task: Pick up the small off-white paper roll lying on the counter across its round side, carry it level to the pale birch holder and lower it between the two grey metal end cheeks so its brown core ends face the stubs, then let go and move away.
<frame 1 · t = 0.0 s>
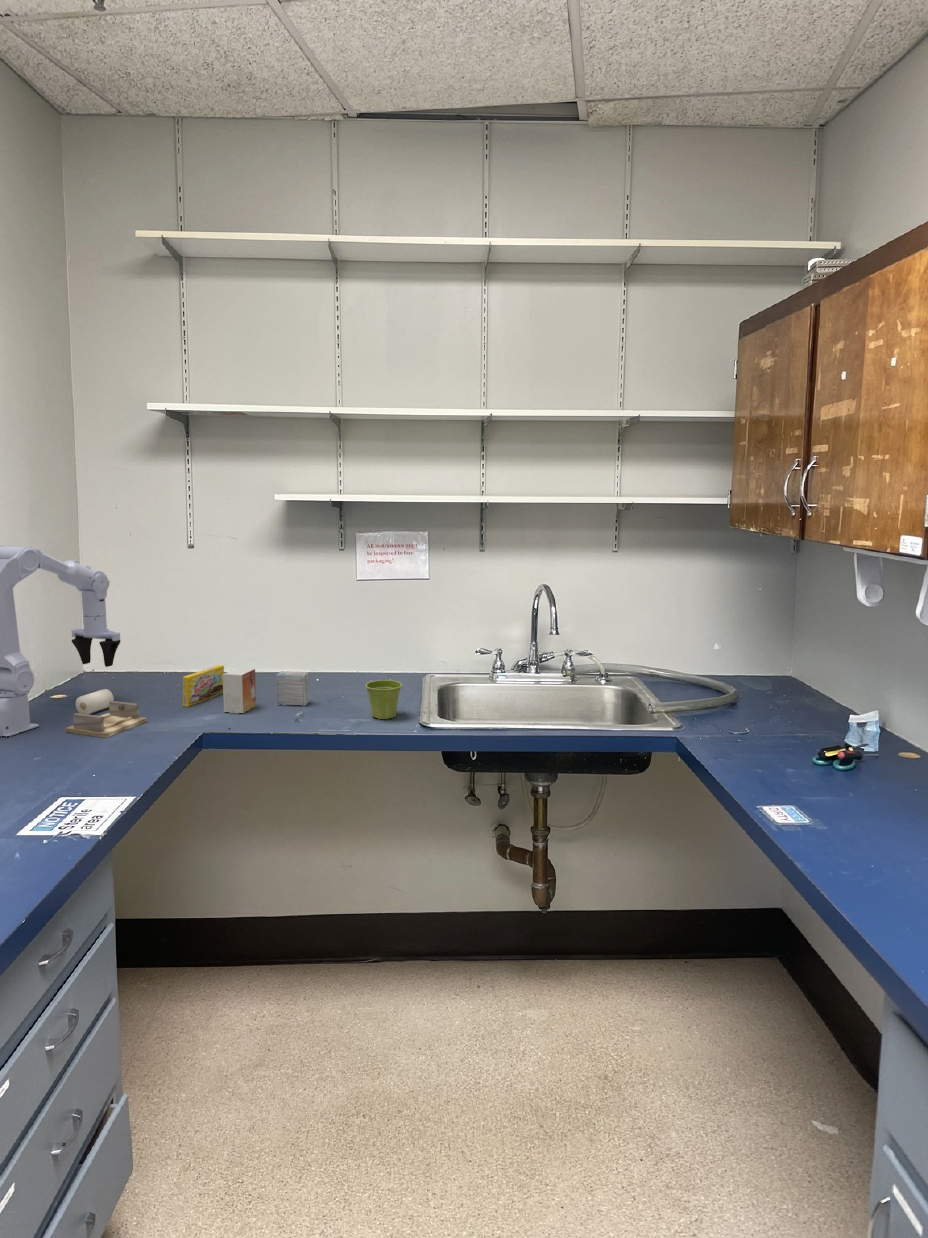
hand: (97, 664, 221), 10 cm above the worktop, tool pointing down, fingers open, 7 cm apart
small box: (240, 710, 216), on the worktop
candy box: (204, 700, 226), on the worktop
roll holder: (107, 726, 199), on the worktop
paper roll: (95, 711, 213), on the worktop
plant pot: (383, 717, 211), on the worktop
grey wooden crate: (293, 704, 222), on the worktop
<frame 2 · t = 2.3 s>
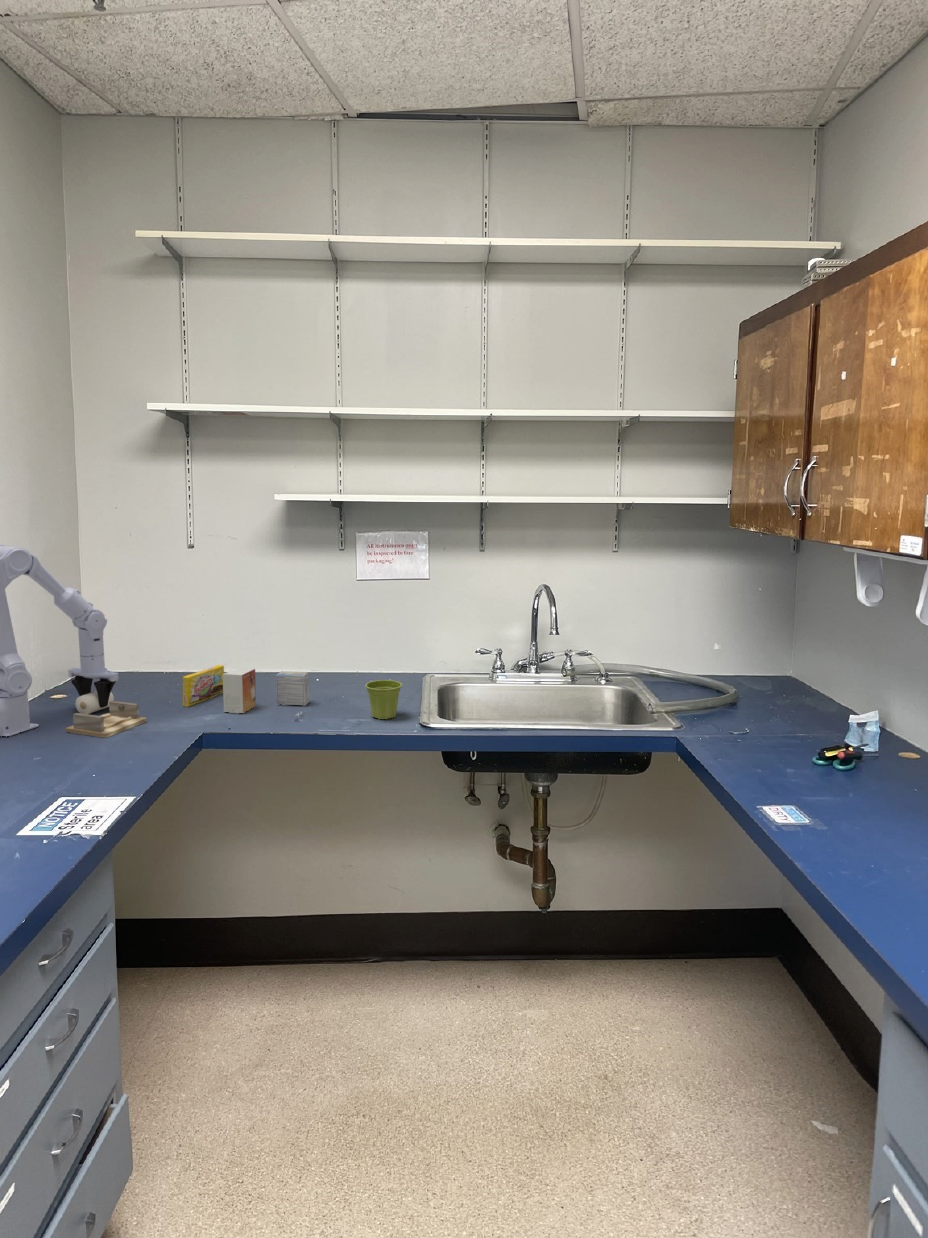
hand: (95, 705, 213), 1 cm above the worktop, tool pointing down, fingers closed on paper roll, 5 cm apart
paper roll: (95, 710, 213), on the worktop, touching gripper
everything else where it was.
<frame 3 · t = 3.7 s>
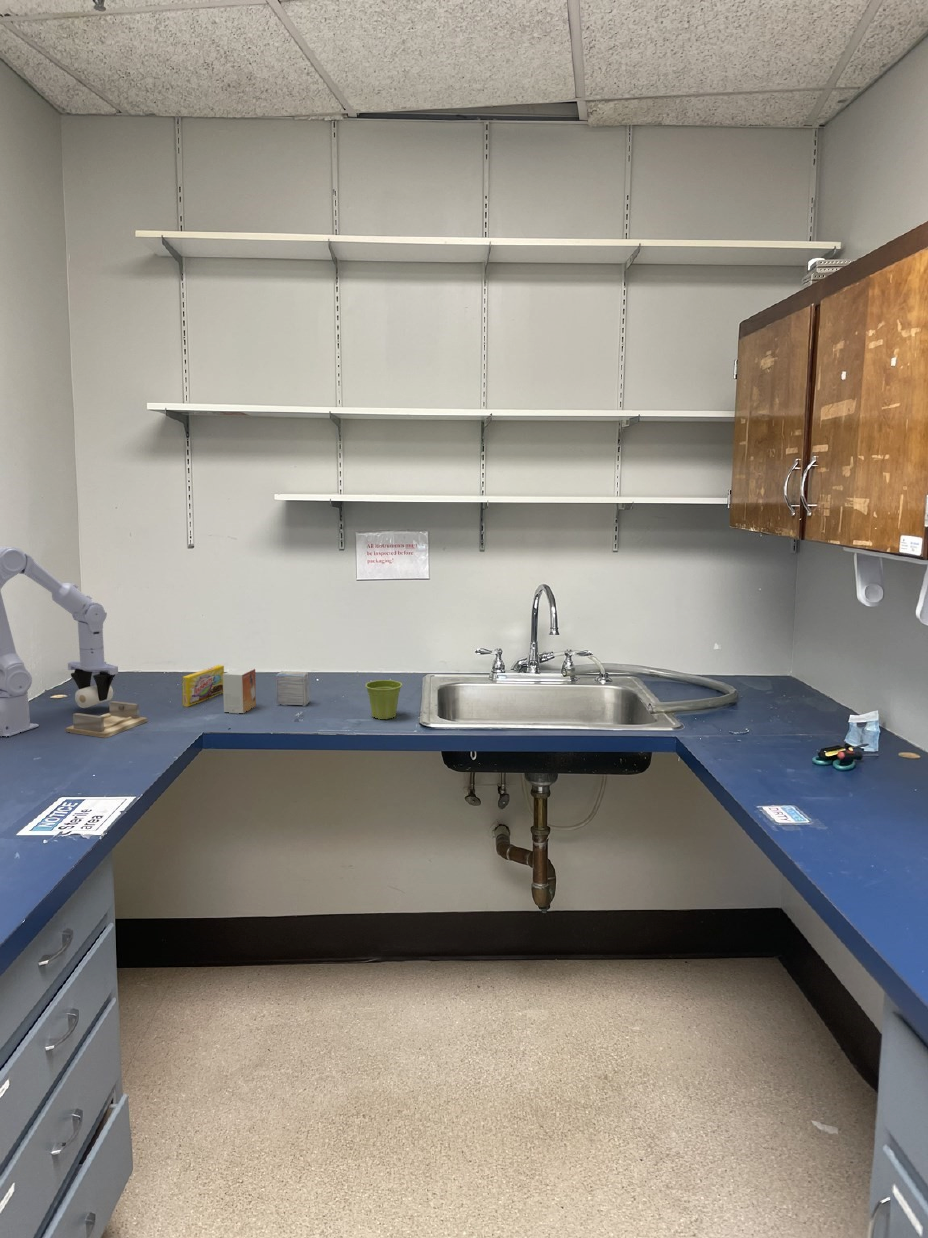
hand: (94, 699, 212), 3 cm above the worktop, tool pointing down, fingers closed on paper roll, 5 cm apart
paper roll: (94, 704, 213), point 2 cm above the worktop, touching gripper
everything else where it was.
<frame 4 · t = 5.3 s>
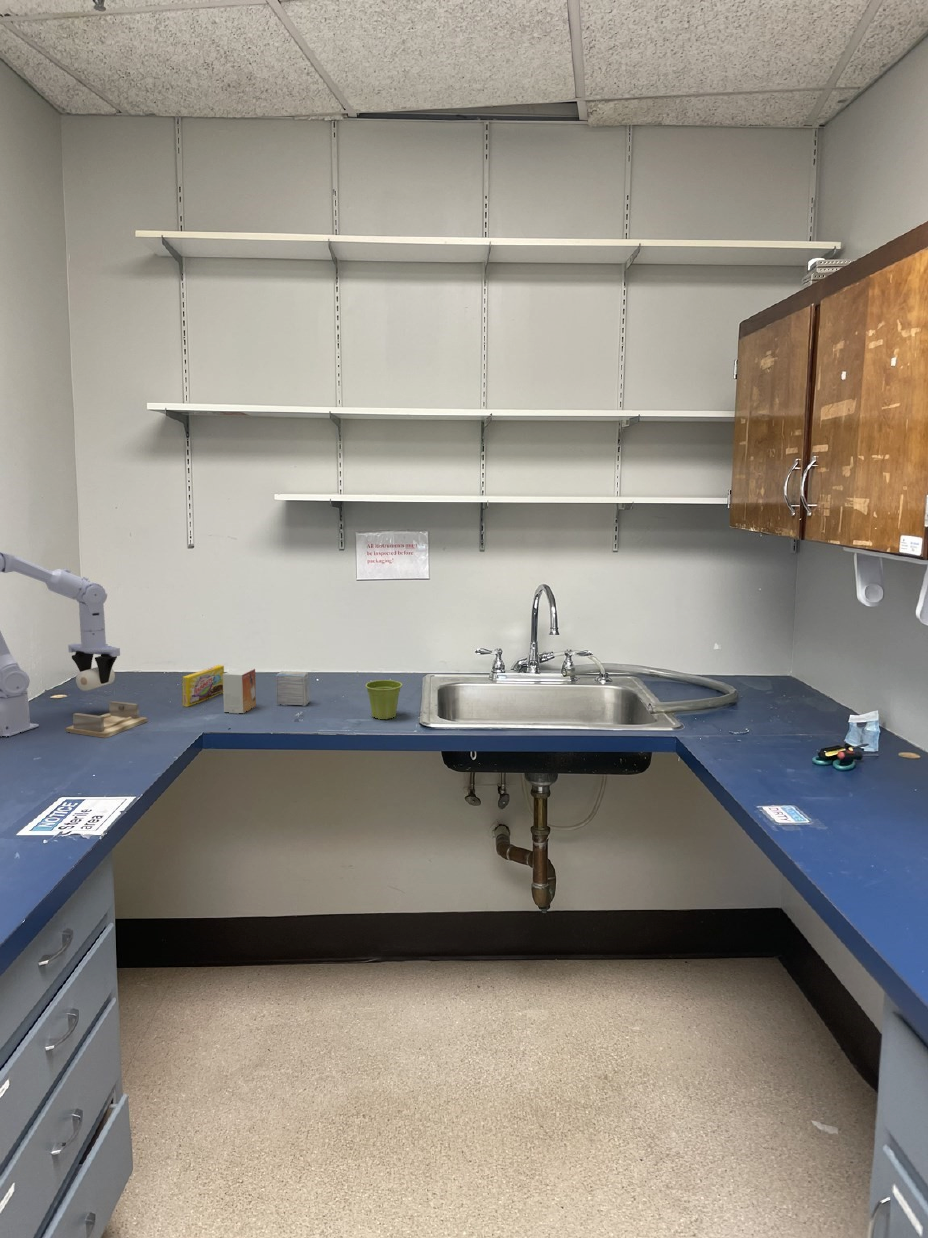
hand: (95, 681, 208), 9 cm above the worktop, tool pointing down, fingers closed on paper roll, 5 cm apart
paper roll: (96, 687, 209), point 7 cm above the worktop, touching gripper
everything else where it was.
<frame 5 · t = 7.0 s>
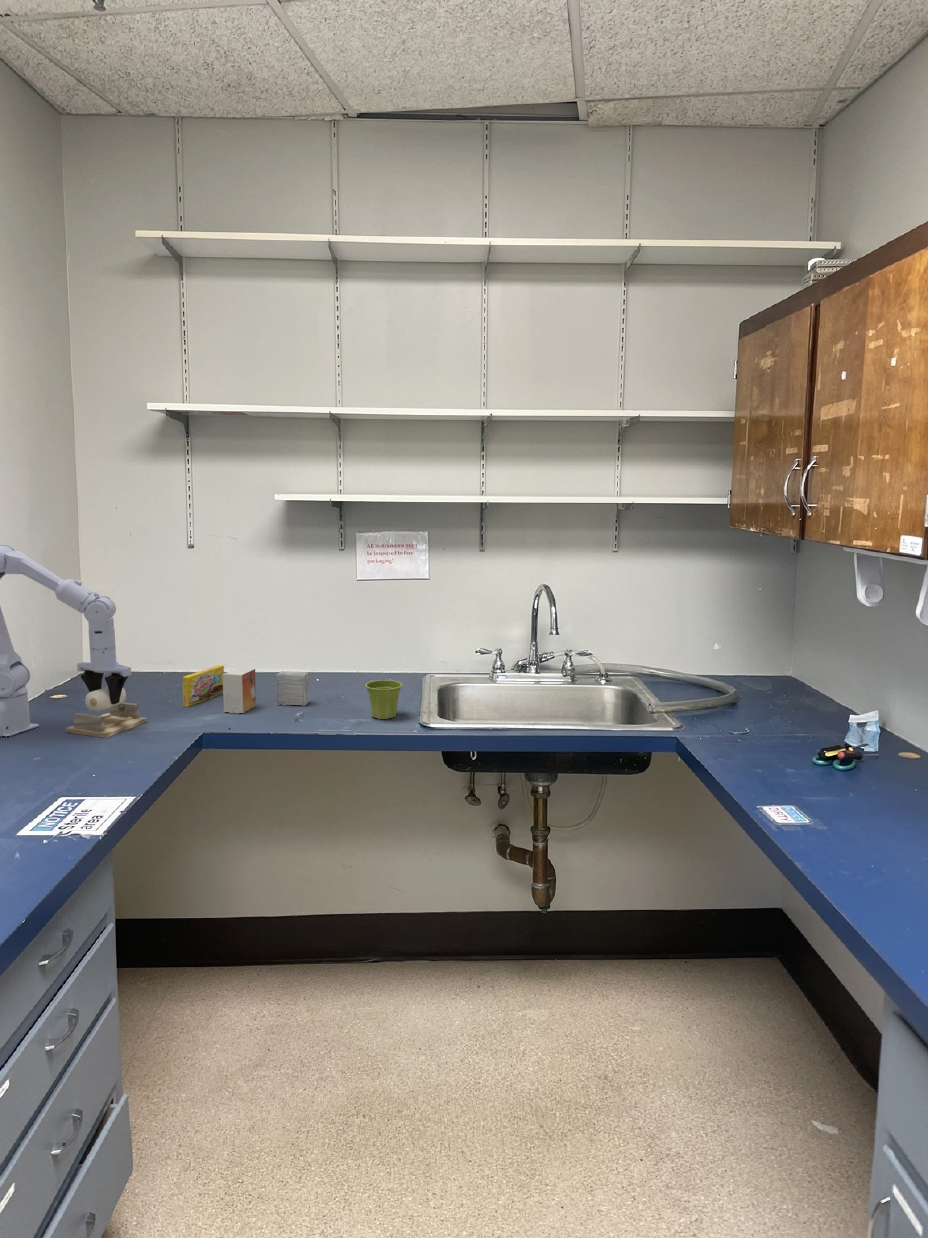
hand: (106, 702, 198), 6 cm above the worktop, tool pointing down, fingers closed on paper roll, 5 cm apart
paper roll: (106, 707, 199), point 5 cm above the worktop, touching gripper
everything else where it was.
when the fingers open (4 cm above the worktop, at t = 8.4 s): paper roll drops 1 cm, resting on roll holder.
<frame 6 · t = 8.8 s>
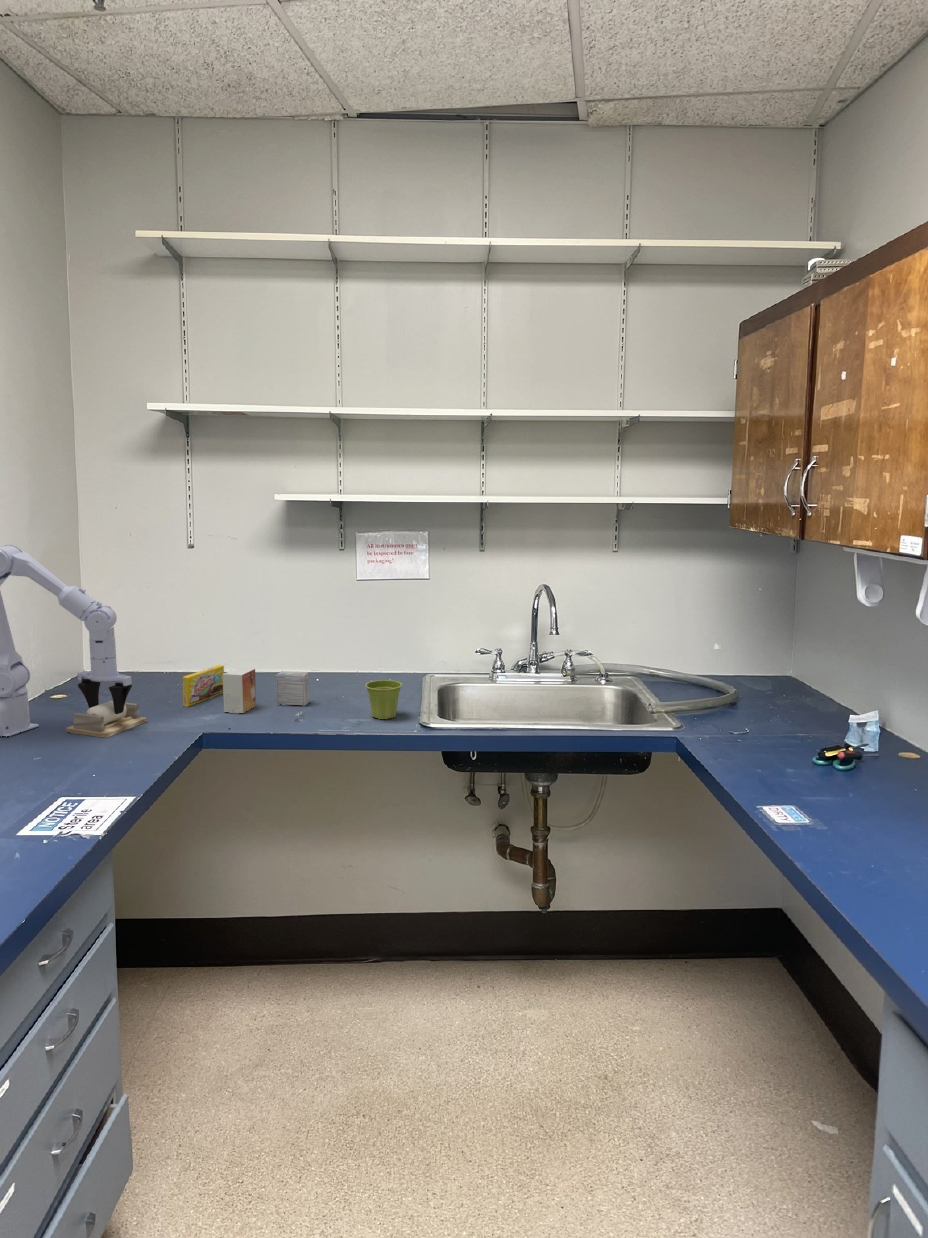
hand: (106, 711, 199), 4 cm above the worktop, tool pointing down, fingers open, 7 cm apart
paper roll: (107, 722, 199), point 1 cm above the worktop, touching roll holder
everything else where it was.
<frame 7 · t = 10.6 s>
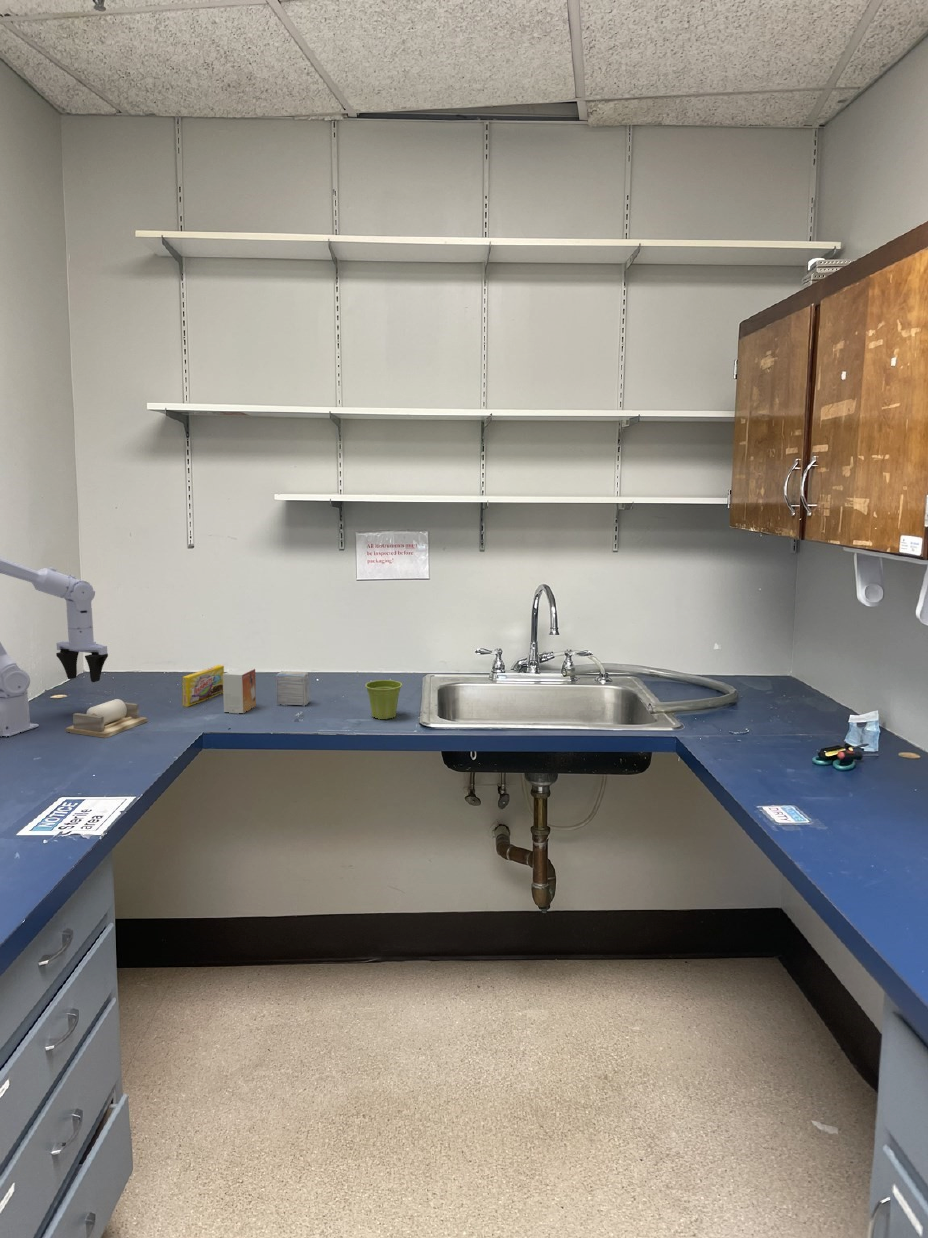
hand: (83, 679, 207), 9 cm above the worktop, tool pointing down, fingers open, 7 cm apart
nothing on the worktop moved.
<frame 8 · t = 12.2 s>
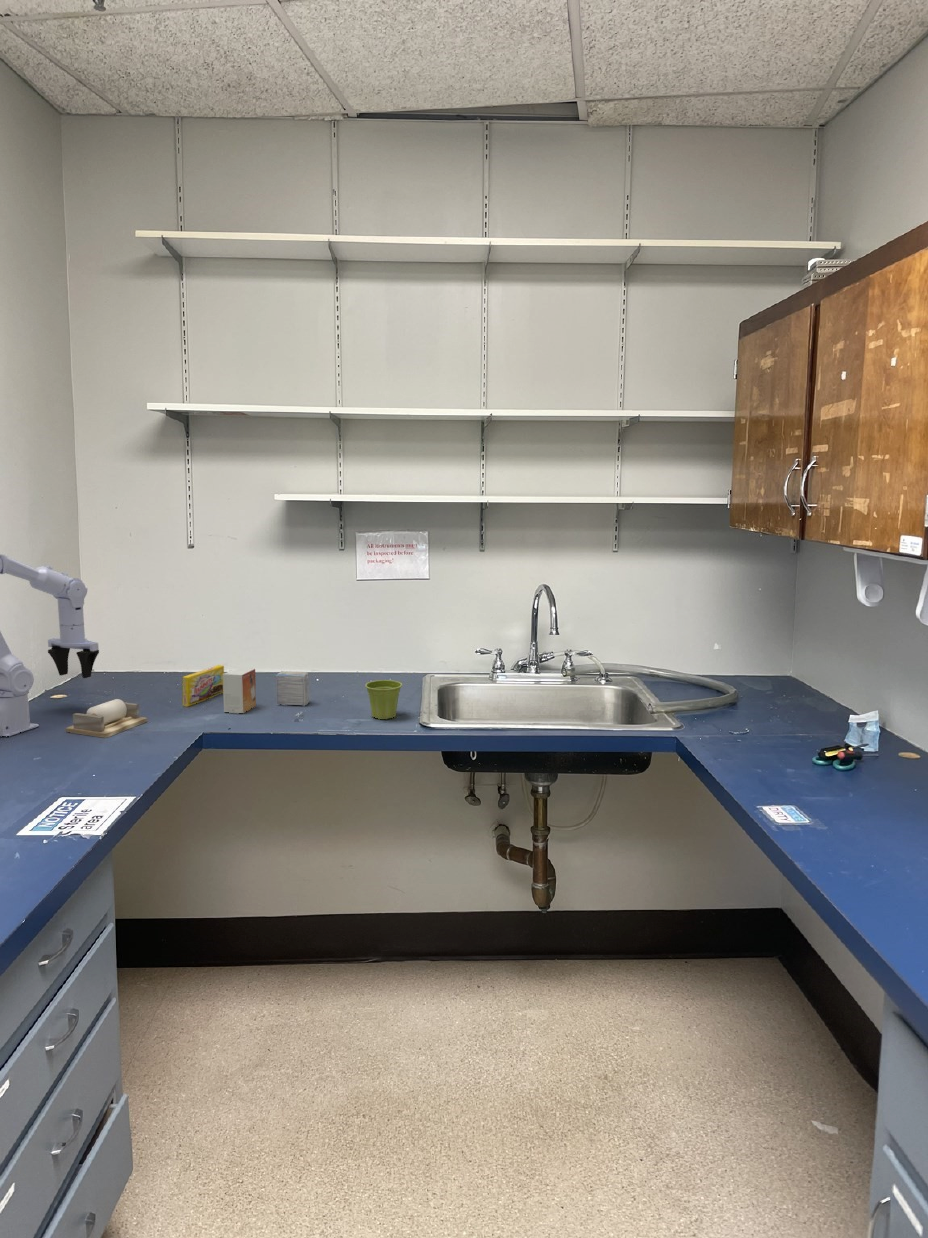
hand: (75, 676, 211), 9 cm above the worktop, tool pointing down, fingers open, 7 cm apart
nothing on the worktop moved.
at the end: paper roll 0.0 cm off-centre on the roll holder, point 1.0 cm above the roll holder's base; paper roll touching roll holder; the gripper is holding nothing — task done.
